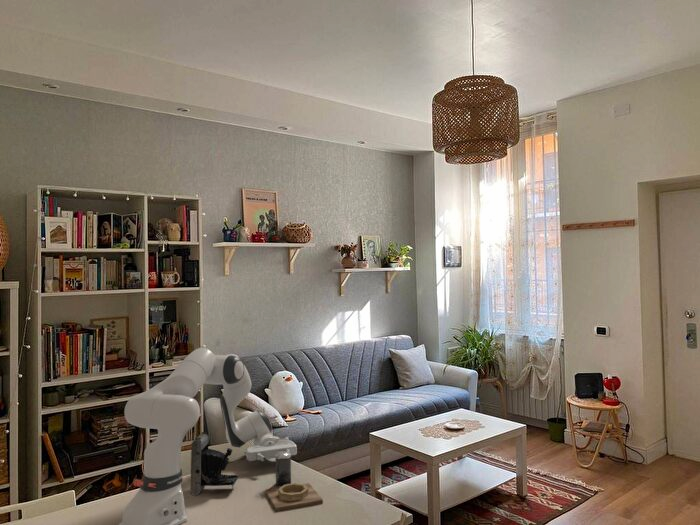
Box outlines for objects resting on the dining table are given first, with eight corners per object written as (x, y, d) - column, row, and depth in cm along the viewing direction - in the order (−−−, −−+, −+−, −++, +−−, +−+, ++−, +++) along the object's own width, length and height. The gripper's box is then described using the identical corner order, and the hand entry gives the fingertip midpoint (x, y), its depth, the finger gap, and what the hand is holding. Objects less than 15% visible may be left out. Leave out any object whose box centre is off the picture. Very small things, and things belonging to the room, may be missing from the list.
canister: (286, 487, 194) (285, 457, 194) (272, 485, 196) (272, 455, 196) (294, 482, 199) (293, 452, 199) (280, 480, 201) (280, 450, 202)
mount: (322, 503, 180) (322, 493, 180) (276, 511, 174) (275, 501, 174) (309, 486, 195) (308, 477, 195) (265, 493, 189) (265, 484, 189)
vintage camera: (232, 497, 188) (234, 439, 189) (189, 495, 188) (191, 438, 189) (239, 486, 197) (240, 432, 198) (197, 485, 198) (199, 431, 199)
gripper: (242, 442, 218) (249, 452, 205) (291, 436, 225) (300, 445, 213) (243, 458, 218) (249, 469, 205) (291, 451, 225) (300, 461, 212)
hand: (275, 457), depth 209 cm, fingers open, 8 cm apart
